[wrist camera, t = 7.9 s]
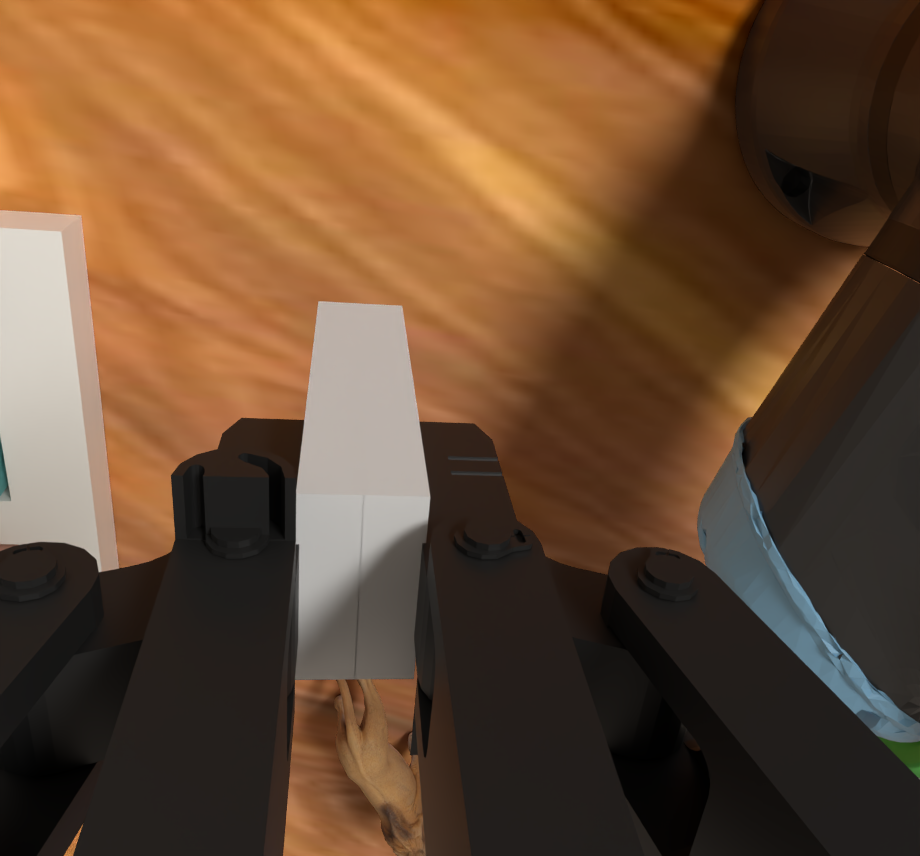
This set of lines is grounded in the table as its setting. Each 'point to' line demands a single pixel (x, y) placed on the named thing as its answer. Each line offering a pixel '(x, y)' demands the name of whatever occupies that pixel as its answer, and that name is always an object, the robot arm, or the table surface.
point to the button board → (51, 390)
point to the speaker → (906, 753)
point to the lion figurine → (381, 770)
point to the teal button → (2, 471)
